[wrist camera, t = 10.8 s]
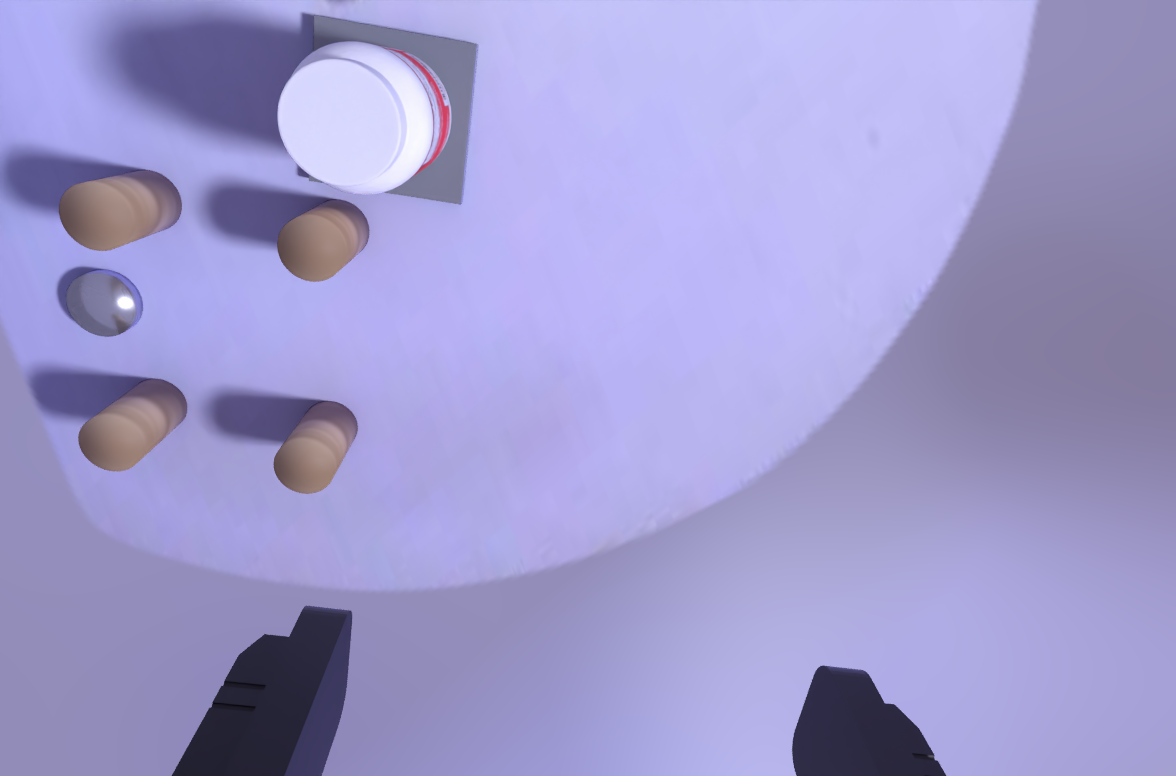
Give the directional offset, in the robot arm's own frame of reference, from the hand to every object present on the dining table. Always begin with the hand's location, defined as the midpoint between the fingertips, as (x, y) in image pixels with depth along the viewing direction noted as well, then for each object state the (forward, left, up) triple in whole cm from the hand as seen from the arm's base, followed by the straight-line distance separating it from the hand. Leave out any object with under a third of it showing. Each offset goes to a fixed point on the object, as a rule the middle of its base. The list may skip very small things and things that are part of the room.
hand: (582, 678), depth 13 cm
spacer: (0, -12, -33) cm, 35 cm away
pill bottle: (-7, -10, -32) cm, 34 cm away
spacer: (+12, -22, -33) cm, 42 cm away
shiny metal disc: (+6, -25, -33) cm, 42 cm away
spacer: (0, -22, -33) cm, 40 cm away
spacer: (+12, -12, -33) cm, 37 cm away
